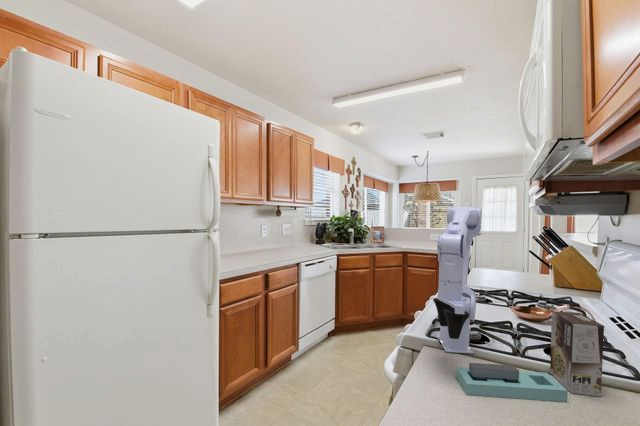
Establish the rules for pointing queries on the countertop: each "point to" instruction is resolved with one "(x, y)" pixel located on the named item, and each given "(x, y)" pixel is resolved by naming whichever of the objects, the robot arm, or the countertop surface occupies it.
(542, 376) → the teal slotted board
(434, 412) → the countertop surface
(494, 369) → the grey arch block
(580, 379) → the coffee box
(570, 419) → the countertop surface
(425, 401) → the countertop surface
